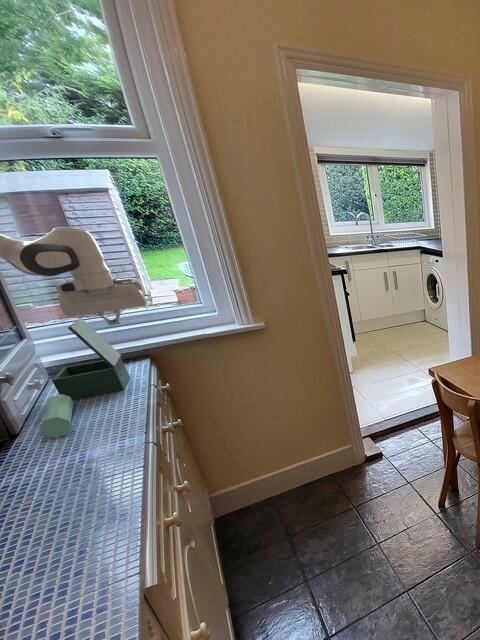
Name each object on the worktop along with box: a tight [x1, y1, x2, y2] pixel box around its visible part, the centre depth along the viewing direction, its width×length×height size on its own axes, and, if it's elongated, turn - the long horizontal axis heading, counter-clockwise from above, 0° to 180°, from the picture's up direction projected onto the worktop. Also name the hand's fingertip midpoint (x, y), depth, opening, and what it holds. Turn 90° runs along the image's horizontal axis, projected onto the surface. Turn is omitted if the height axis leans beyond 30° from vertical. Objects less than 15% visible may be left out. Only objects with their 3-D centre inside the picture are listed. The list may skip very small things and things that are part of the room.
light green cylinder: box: [38, 394, 74, 439], centre depth 116 cm, size 6×6×25 cm
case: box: [51, 356, 131, 402], centre depth 136 cm, size 15×14×8 cm
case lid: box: [67, 317, 122, 367], centre depth 134 cm, size 15×14×1 cm
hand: (115, 324), depth 135 cm, fingers closed
